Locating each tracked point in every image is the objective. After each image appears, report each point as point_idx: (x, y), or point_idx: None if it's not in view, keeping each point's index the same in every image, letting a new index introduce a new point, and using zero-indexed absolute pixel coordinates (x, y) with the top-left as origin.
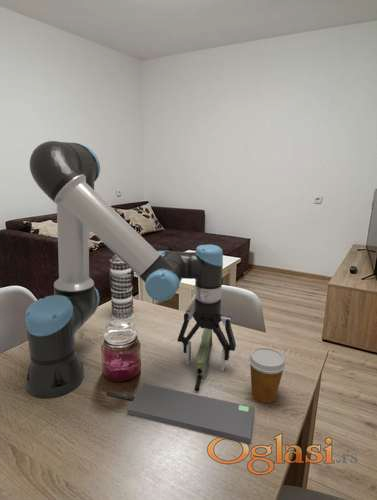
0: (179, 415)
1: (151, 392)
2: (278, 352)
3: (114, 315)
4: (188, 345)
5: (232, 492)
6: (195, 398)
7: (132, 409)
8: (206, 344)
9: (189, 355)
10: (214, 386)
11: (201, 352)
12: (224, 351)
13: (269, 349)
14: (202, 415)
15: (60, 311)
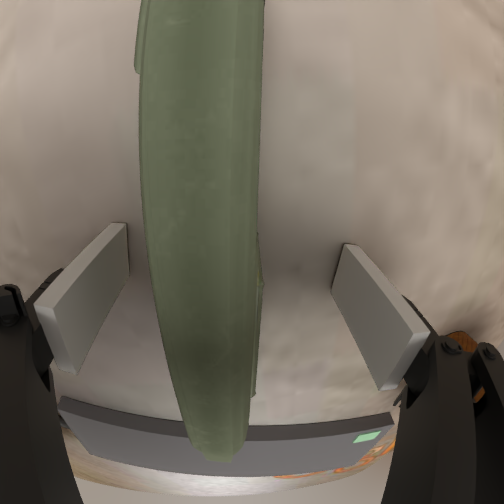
0: (203, 470)
1: (98, 433)
2: None
3: None
4: (69, 367)
5: (306, 486)
6: None
7: (99, 456)
8: (229, 315)
9: (108, 290)
10: (290, 378)
11: (206, 412)
12: (398, 383)
13: None
14: (258, 466)
15: None
